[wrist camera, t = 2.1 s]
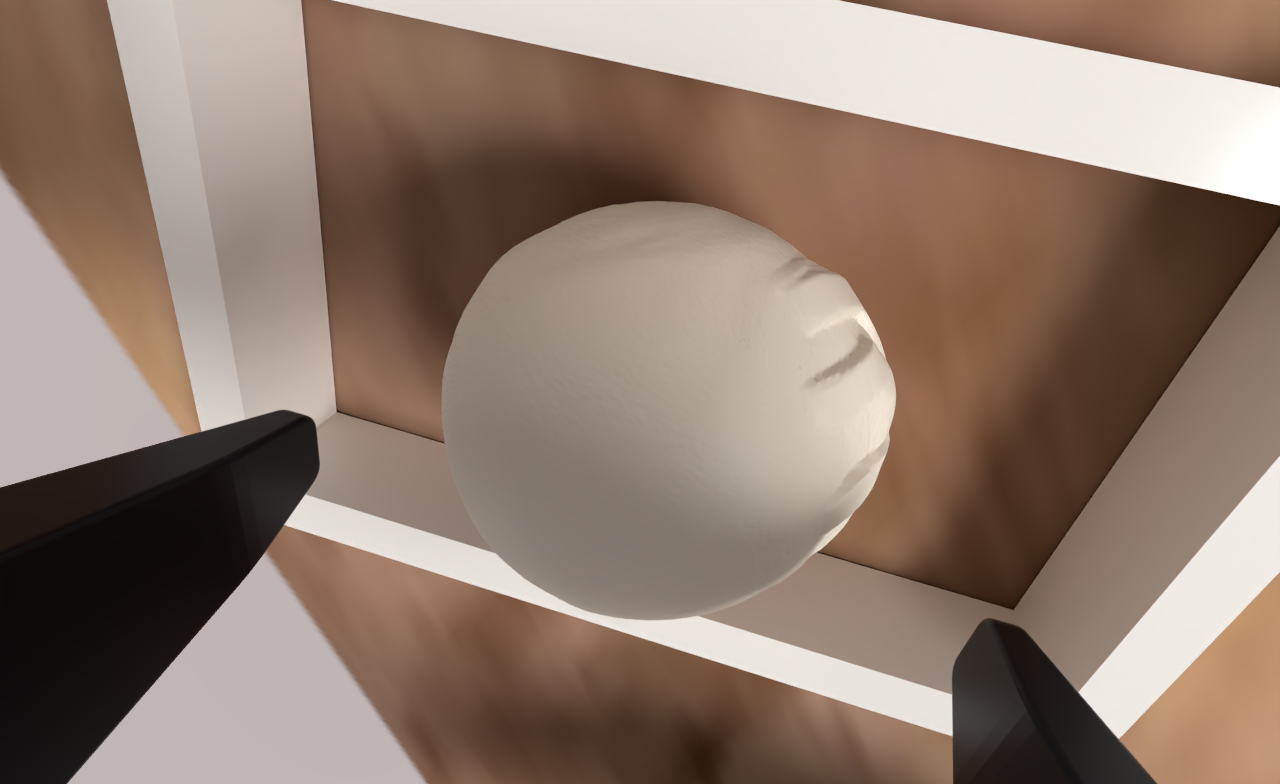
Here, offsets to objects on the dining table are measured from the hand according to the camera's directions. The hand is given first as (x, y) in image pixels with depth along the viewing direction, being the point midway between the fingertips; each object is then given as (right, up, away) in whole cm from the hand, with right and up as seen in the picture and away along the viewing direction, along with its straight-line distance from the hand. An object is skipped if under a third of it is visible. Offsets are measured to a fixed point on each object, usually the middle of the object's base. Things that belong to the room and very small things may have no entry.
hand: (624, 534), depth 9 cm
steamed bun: (+1, +3, +6) cm, 7 cm away
